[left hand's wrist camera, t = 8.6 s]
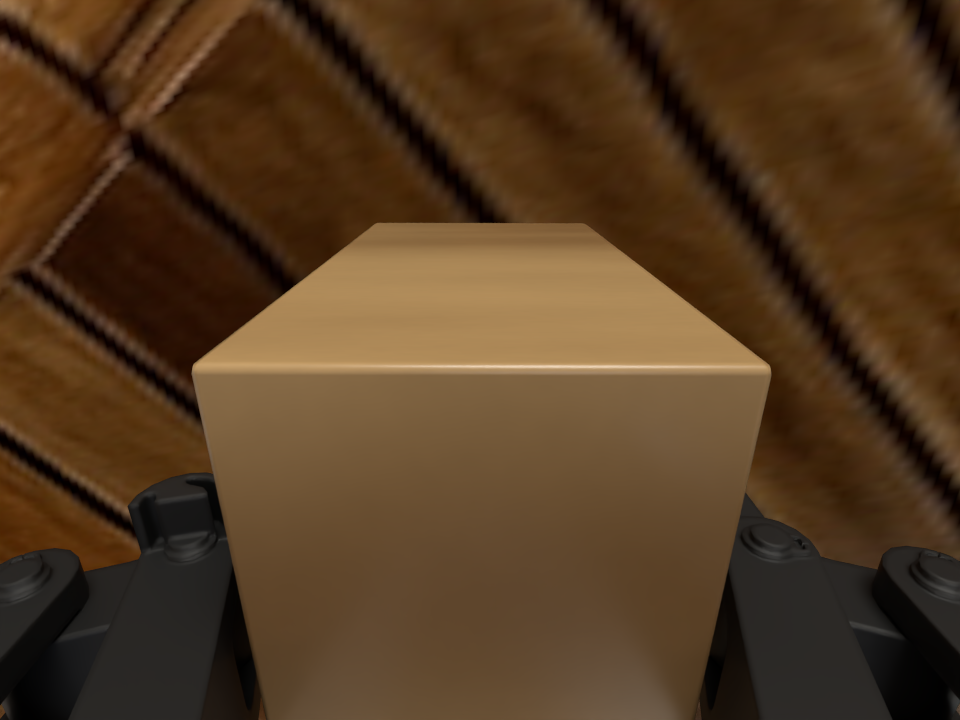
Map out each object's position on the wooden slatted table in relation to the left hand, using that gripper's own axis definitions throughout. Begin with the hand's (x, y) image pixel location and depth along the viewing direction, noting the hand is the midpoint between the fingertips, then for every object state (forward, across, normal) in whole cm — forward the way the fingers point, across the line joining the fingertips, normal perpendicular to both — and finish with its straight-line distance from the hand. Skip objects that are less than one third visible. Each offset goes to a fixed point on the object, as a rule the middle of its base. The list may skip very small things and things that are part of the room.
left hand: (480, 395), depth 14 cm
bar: (+1, 0, -8) cm, 8 cm away
